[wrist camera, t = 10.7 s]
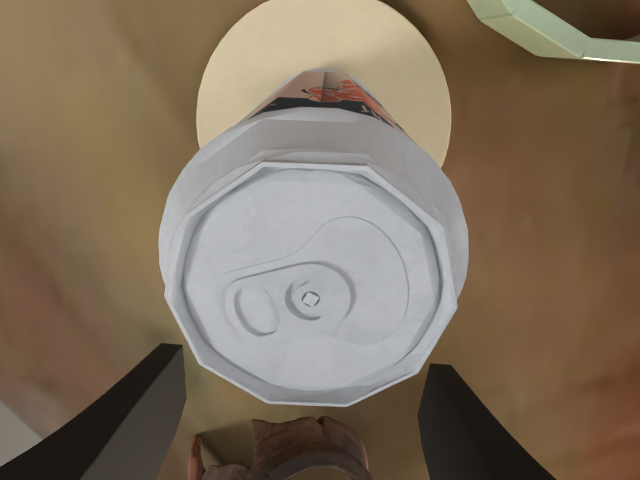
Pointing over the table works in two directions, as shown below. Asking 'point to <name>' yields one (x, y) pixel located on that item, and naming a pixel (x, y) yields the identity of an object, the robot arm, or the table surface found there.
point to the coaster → (327, 65)
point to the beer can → (313, 247)
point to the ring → (551, 33)
